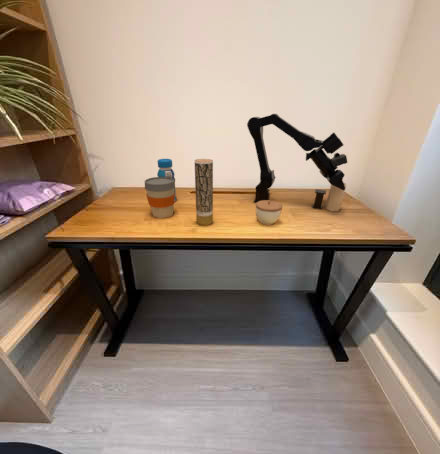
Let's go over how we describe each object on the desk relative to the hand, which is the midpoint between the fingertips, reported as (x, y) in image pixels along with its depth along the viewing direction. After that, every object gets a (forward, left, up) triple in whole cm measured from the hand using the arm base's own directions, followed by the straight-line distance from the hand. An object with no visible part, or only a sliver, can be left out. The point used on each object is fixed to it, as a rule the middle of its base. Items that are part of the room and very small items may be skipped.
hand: (341, 186), depth 115 cm
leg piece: (-8, -1, -11) cm, 14 cm away
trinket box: (-27, -28, -11) cm, 41 cm away
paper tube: (-51, -39, -11) cm, 65 cm away
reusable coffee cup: (-72, -38, -11) cm, 82 cm away
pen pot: (-1, 0, -11) cm, 11 cm away
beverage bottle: (-79, -22, -11) cm, 83 cm away
